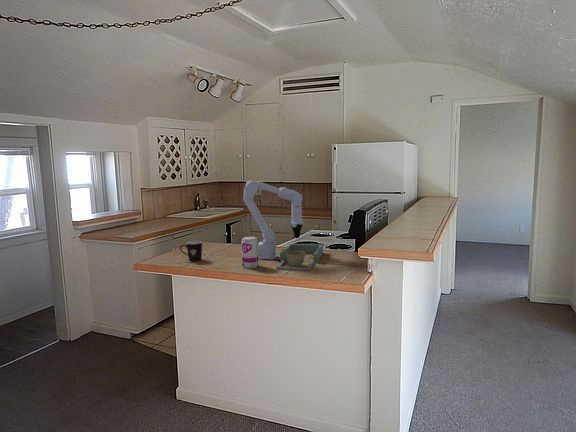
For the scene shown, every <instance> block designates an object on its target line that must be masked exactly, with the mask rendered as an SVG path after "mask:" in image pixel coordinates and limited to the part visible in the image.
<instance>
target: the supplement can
mask: <svg viewBox="0 0 576 432" xmlns="http://www.w3.org/2000/svg"><path fill="white" fill-rule="evenodd" d="M240 242H241V260H242V261H241V263H242V267H243V268H245V269H255V268H257V267H258V266H259V259H258V244H259V241H258V239H257V237H256V236H244V237H242V239H241V241H240Z"/></svg>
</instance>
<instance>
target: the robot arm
mask: <svg viewBox="0 0 576 432" xmlns="http://www.w3.org/2000/svg"><path fill="white" fill-rule="evenodd" d="M262 191H267V192H270V193H274V194H277V197H278V198H281V199H283V200H287V201H290V202H291V206H290V207H291V208H290V209H291V226H290V227H291V229H292V232H293V236H294V239H299V238H300V235H301V230H302V228H303V224H305V221H304V220H303V211H302V210H303V208H302V207H303V206H302V201H303V195H302V193H300V192H298V191H295V189H288V188H287V187H286V186H284V187H283V186H281V187H279V188H278V187H276V186H273V185H270V184H268V183H265V182H261V181H254V180H252V179H250V180H247V182H246V183H245V185H244V187H243V202H244V204H245V206H246V207H247V209H248V210H249V212H250V214H251V215H252V217H253V219H254V220H255V222H256V224H257V226H258V227H259V229H260V231H261V235H262V238H263V240H262V241H258V260H275V259H277V257H278V258H279V255H278V254H277V249H276V248H277V247H276V246H277V245H276V237H277V236H276V234H275V232H274V230H272V229H271V228H270V227H269V225H268V224H267V222H266V220H265V218H264V216H263V215H262V213H261V211H260V210H259V208H258V206H257V205H256V203H255V201H254V197H255V195H256V193H257V192H262Z"/></svg>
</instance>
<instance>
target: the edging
mask: <svg viewBox="0 0 576 432" xmlns="http://www.w3.org/2000/svg"><path fill="white" fill-rule="evenodd" d="M285 263H286V259H285V260H283V261H282V262H279V264H278V265H277V266H276V270H277V271H278V270H281V271H309V272H310V271H311V268H313V265H314V264H315V263H314V260H311V261H310V262H309V264H308V265H307V266H306V267H301V266H300V267H291V266H284V264H285Z"/></svg>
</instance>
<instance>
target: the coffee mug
mask: <svg viewBox="0 0 576 432" xmlns="http://www.w3.org/2000/svg"><path fill="white" fill-rule="evenodd" d="M182 247H185V248H186V250H187V253H186V252H184V251H183V250H182ZM179 250H180V252H182V254H184V255H186V256H188V260H189V262H192V263H194V262H195V263H196V262H200V261H202V253H203V241H201V240H192V241H187V242H186V244H182V245H181V246H180V247H179Z"/></svg>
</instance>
